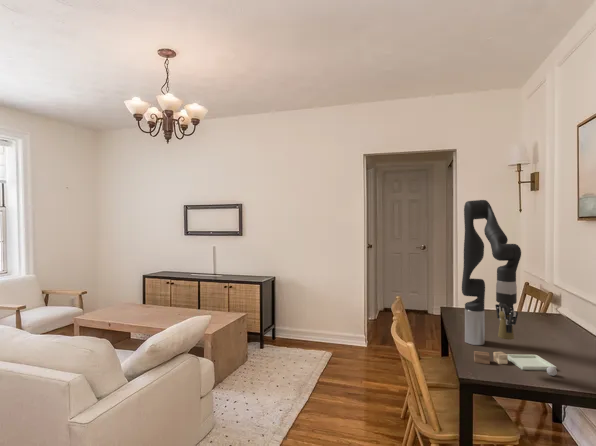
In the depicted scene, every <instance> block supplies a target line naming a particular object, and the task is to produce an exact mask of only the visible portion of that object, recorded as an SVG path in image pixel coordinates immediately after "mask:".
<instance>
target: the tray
mask: <svg viewBox="0 0 596 446" xmlns="http://www.w3.org/2000/svg"><path fill="white" fill-rule="evenodd" d="M507 355H508V361H509V362H511V363H512V364H513V365H515V367H518V368H519V369H520V370H522V371H547V368H548V367H554V368H555V369H556V370H557V366H555V365H554V364H553V363H551V362H550V361H548V360H546V359H544V358H542V357H541V356H539V355H537V354H512V353H511V354H509V353H507Z"/></svg>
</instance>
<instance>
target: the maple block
mask: <svg viewBox="0 0 596 446" xmlns="http://www.w3.org/2000/svg"><path fill="white" fill-rule="evenodd" d="M507 354H508V353H507ZM507 354H506V353H505V352H503V351H494V352H493V362H495V363H496V364H498V365H508V361H509V360H508V355H507Z"/></svg>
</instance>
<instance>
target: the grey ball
mask: <svg viewBox="0 0 596 446" xmlns="http://www.w3.org/2000/svg"><path fill="white" fill-rule="evenodd" d="M546 373H547V374H548V375H549V376H553V377H555V376H556V375H557V373H558V371H557V368H556V369H555V368H554V367H548V368H547V370H546Z"/></svg>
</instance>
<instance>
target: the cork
mask: <svg viewBox="0 0 596 446" xmlns="http://www.w3.org/2000/svg"><path fill="white" fill-rule="evenodd" d="M506 316H507V317H509V316H510V315H506ZM499 317H500V318H501V319H500V320H499V327H498V333H497V337H498V338H500V339H503V340H514V339H515V334H514V327H513V326H514V325H512V333H508V332H507V333H506V321H505V320H506V319H505V318H504V313H503V311H500V312H499ZM508 321H509V319H508Z"/></svg>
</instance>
